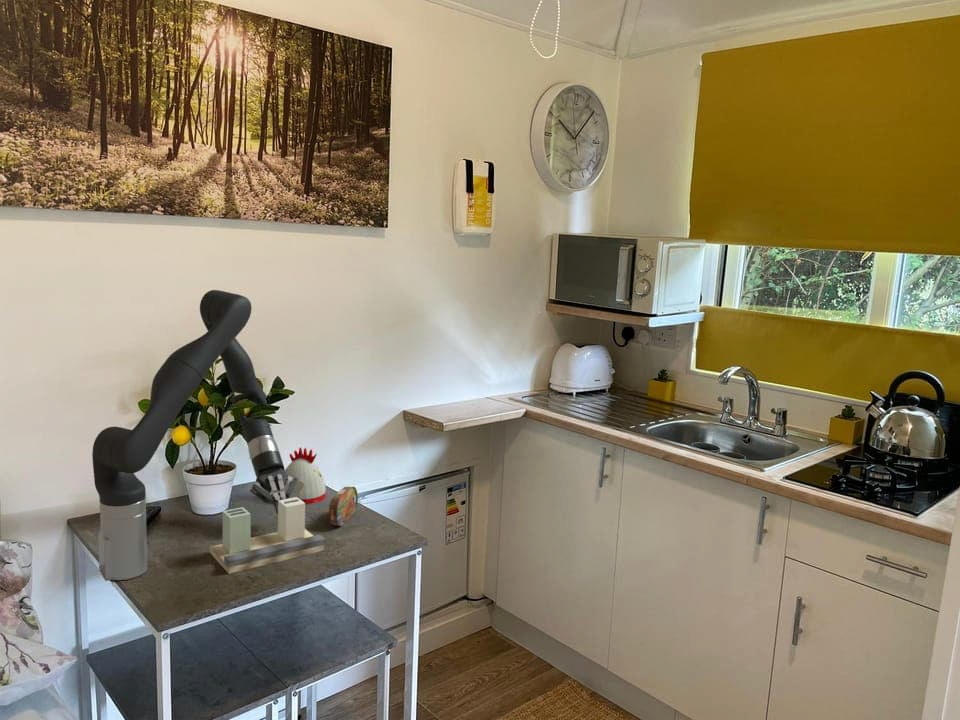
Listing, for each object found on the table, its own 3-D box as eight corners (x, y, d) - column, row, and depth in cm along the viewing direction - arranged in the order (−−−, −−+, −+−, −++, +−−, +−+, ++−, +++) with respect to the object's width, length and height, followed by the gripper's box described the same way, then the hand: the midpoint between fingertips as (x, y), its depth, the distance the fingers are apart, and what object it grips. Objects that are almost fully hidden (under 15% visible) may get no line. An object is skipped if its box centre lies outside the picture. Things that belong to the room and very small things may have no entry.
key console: (228, 573, 166) (228, 561, 166) (209, 552, 176) (209, 540, 176) (324, 550, 181) (325, 538, 181) (302, 531, 191) (302, 521, 190)
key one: (285, 541, 181) (286, 506, 179) (277, 534, 185) (278, 499, 183) (304, 536, 184) (305, 502, 182) (296, 530, 188) (296, 496, 186)
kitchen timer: (315, 507, 208) (316, 457, 206) (269, 501, 210) (270, 452, 208) (332, 490, 222) (333, 443, 219) (289, 486, 224) (290, 439, 221)
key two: (229, 553, 172) (229, 517, 171) (222, 546, 176) (222, 510, 175) (250, 549, 175) (250, 513, 174) (242, 541, 179) (243, 506, 178)
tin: (337, 531, 193) (338, 501, 192) (326, 529, 194) (327, 499, 192) (358, 510, 208) (359, 482, 206) (347, 509, 208) (348, 481, 207)
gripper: (244, 453, 188) (263, 513, 181) (292, 445, 196) (312, 503, 189) (237, 466, 193) (254, 526, 186) (284, 459, 201) (303, 516, 194)
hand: (283, 514), depth 187 cm, fingers closed
